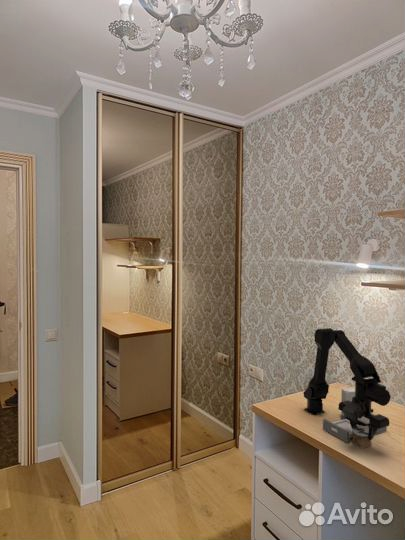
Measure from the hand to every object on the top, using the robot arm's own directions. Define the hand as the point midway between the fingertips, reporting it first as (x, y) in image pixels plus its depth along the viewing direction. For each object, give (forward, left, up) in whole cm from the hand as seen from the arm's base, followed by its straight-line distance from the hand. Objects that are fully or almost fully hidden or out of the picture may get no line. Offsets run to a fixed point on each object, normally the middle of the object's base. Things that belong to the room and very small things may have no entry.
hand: (362, 435), depth 141 cm
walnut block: (0, 0, -3) cm, 3 cm away
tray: (-9, +1, -3) cm, 10 cm away
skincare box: (-19, +15, -4) cm, 24 cm away
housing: (-9, +11, -3) cm, 15 cm away
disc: (0, 0, +1) cm, 1 cm away
